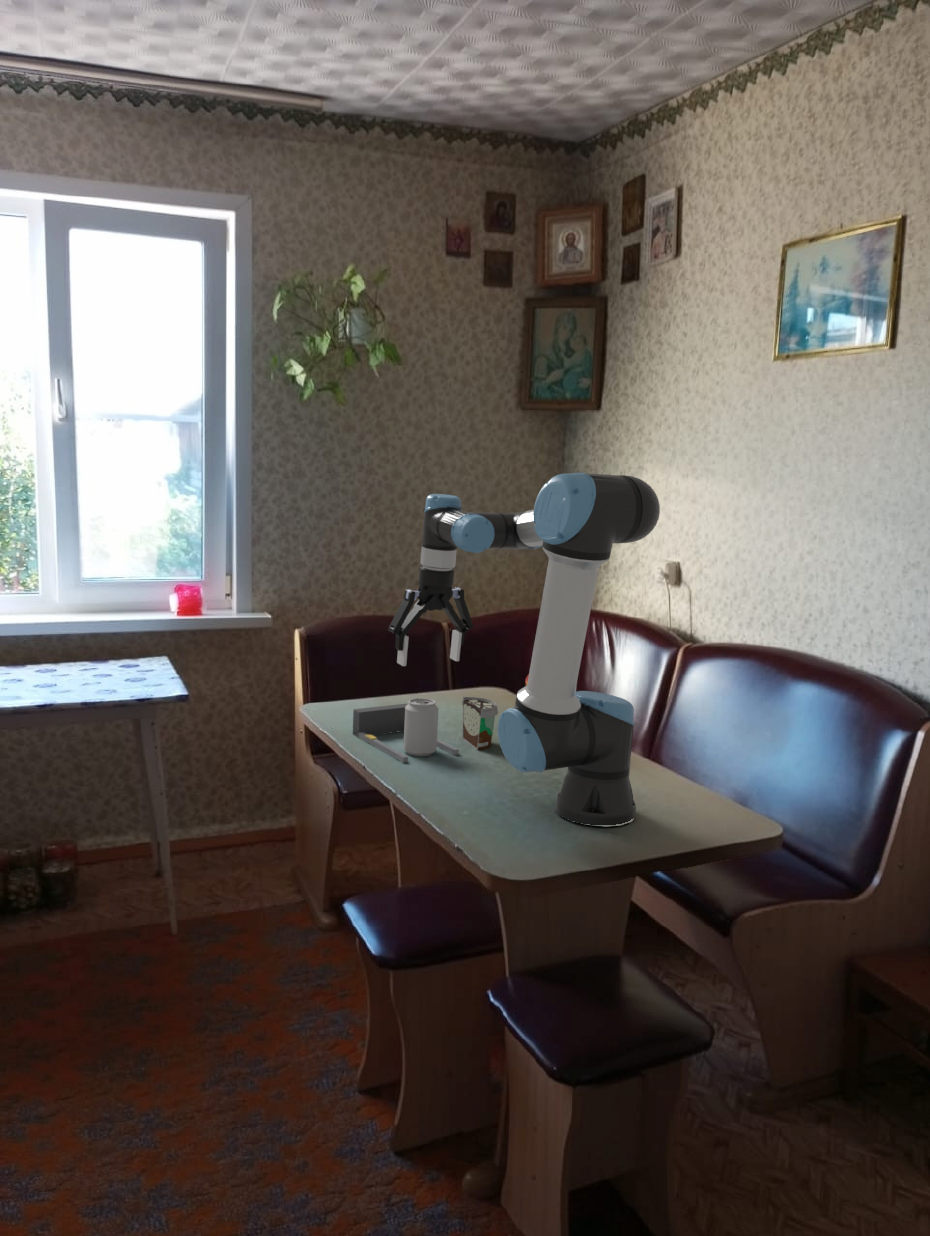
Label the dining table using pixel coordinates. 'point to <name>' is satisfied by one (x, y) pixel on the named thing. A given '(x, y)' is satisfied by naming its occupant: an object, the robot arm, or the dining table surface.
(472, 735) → the food container
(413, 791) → the dining table surface
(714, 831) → the dining table surface
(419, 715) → the can
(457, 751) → the guide channel
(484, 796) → the dining table surface
